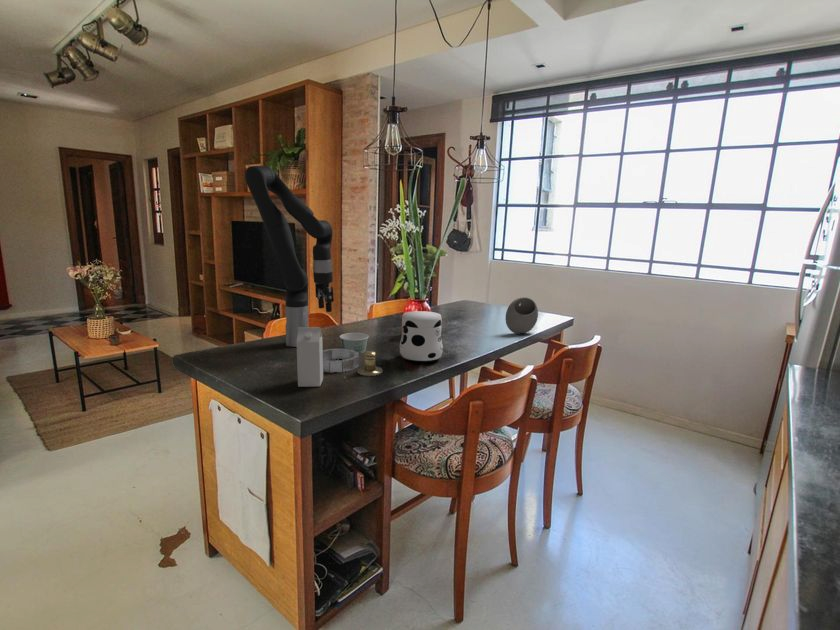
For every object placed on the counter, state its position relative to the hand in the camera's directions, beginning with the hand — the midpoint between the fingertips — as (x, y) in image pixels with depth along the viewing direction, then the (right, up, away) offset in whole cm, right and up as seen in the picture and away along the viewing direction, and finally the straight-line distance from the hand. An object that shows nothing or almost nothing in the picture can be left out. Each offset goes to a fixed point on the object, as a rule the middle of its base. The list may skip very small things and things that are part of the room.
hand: (325, 310), depth 177 cm
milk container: (+39, -20, -6) cm, 45 cm away
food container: (+12, -17, +3) cm, 21 cm away
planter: (+90, -12, +40) cm, 99 cm away
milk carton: (+3, -25, -35) cm, 43 cm away
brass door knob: (+21, -23, -23) cm, 38 cm away
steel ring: (+8, -21, -16) cm, 27 cm away
